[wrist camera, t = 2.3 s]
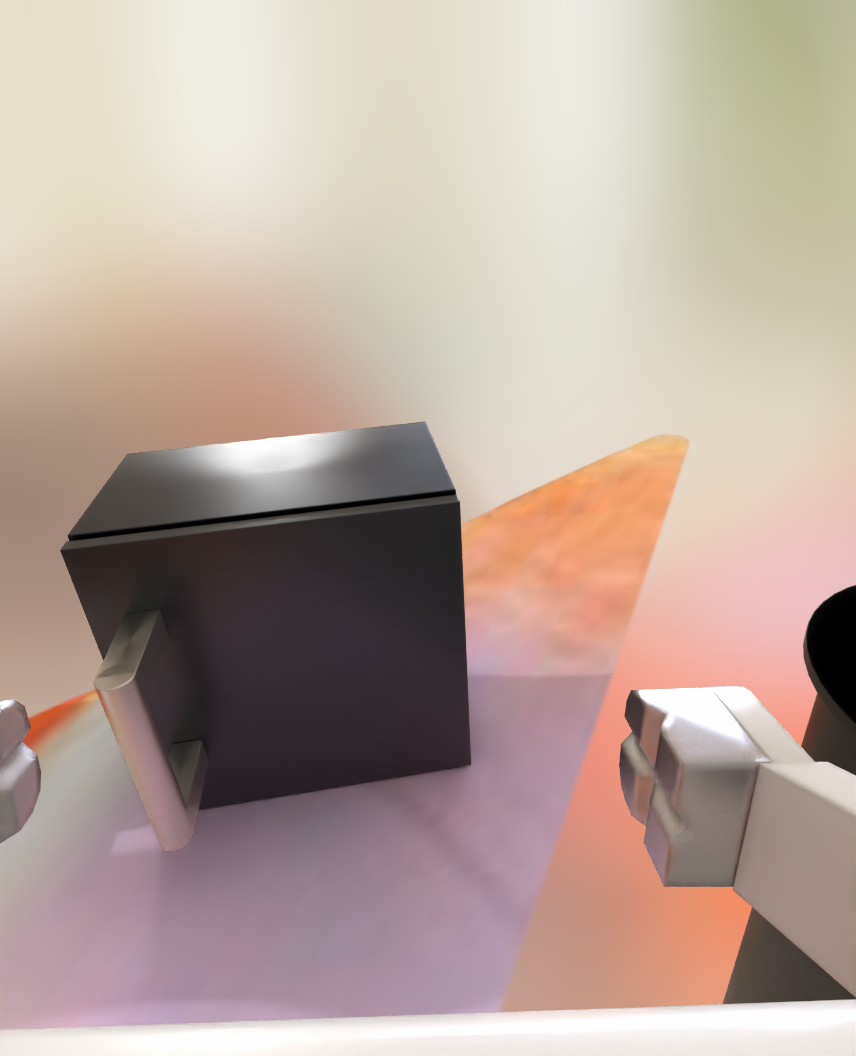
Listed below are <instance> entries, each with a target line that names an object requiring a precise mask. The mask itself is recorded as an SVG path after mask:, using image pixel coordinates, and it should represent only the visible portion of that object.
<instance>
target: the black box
mask: <svg viewBox="0 0 856 1056" xmlns="http://www.w3.org/2000/svg"><path fill="white" fill-rule="evenodd" d="M450 495H456V490H455V487H454V485H453V483H452V480H451V478H450V476H449V474H448V471H447V469H446V467H445V464H444V462H443V460H442V458H441V455H440V453H439V451H438V449H437V446H436V444H435V442H434V439H433V437H432V435H431V433H430V431H429V428H428V426H427V424H426V422H418V423H408V424H399V425H391V426H380V427H371V428H362V429H353V430H344V431H334V432H325V433H316V434H308V435H298V436H289V437H279V438H270V439H260V440H252V441H242V442H234V443H224V444H214V445H205V446H196V447H187V448H178V449H168V450H159V451H150V452H140V453H131V454H127V455H126V456H125V458H124V459H123V460H122V462H121V463H120V465H119V466H118V467H117V469H116V470H115V471H114V473H113V474H112V475H111V477H110V478H109V480H108V481H107V482H106V484H105V485H104V486H103V488H102V489H101V491H100V492H99V494H98V495H97V496H96V497H95V499H94V500H93V501H92V503H91V504H90V506H89V507H88V508H87V510H86V511H85V513H84V514H83V515H82V517H81V518H80V519H79V521H78V522H77V524H76V525H75V526H74V527H73V529H72V530H71V532H70V533H69V534H68V538H69V541H76V540H84V539H92V538H101V537H109V536H117V535H126V534H134V533H142V532H151V531H159V530H167V529H176V528H184V527H192V526H200V525H209V524H217V523H225V522H234V521H242V520H250V519H259V518H267V517H275V516H284V515H292V514H300V513H309V512H317V511H325V510H334V509H342V508H350V507H358V506H367V505H375V504H383V503H392V502H400V501H408V500H417V499H425V498H433V497H442V496H450Z"/></svg>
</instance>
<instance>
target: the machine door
mask: <svg viewBox="0 0 856 1056" xmlns="http://www.w3.org/2000/svg"><path fill="white" fill-rule="evenodd" d="M60 551H61V553H62V556H63V559H64V561H65V564H66V566H67V569H68V571H69V574H70V576H71V579H72V582H73V584H74V587H75V589H76V592H77V594H78V597H79V599H80V602H81V604H82V607H83V610H84V612H85V614H86V617H87V620H88V622H89V625H90V627H91V630H92V633H93V635H94V637H95V640H96V643H97V645H98V648H99V650H100V653H101V655H102V658H103V663H102V665H101V667H100V669H99V672H98V674H97V676H96V678H95V681H94V687H95V689H96V691H97V694H98V696H99V699H100V701H101V704H102V706H103V708H104V711H105V713H106V716H107V718H108V721H109V723H110V725H111V728H112V730H113V733H114V735H115V738H116V740H117V742H118V745H119V747H120V750H121V752H122V755H123V757H124V759H125V762H126V764H127V767H128V769H129V772H130V774H131V776H132V779H133V781H134V784H135V786H136V789H137V791H138V793H139V796H140V798H141V801H142V803H143V806H144V808H145V811H146V813H147V815H148V818H149V820H150V823H151V825H152V828H153V830H154V832H155V835H156V837H157V840H158V842H159V845H160V847H161V848H162V849H163V850H165V851H177V850H179V849H182V848H183V847H185V846H186V845H187V844H188V843H189V842H190V841H191V839H192V838H193V835H194V831H195V826H196V821H197V816H198V811H199V809H202V808H208V807H214V806H220V805H226V804H232V803H238V802H245V801H251V800H257V799H263V798H269V797H275V796H282V795H288V794H294V793H300V792H306V791H312V790H318V789H325V788H331V787H337V786H343V785H349V784H355V783H361V782H368V781H374V780H380V779H386V778H392V777H398V776H405V775H411V774H417V773H423V772H429V771H435V770H441V769H448V768H454V767H460V766H466V765H471V750H470V726H469V703H468V679H467V656H466V632H465V609H464V586H463V562H462V539H461V515H460V501H459V499H458V497H457V495H450V496H442V497H433V498H425V499H417V500H408V501H400V502H392V503H383V504H375V505H367V506H358V507H350V508H342V509H334V510H325V511H317V512H309V513H300V514H292V515H284V516H275V517H267V518H259V519H250V520H242V521H234V522H225V523H217V524H209V525H200V526H192V527H184V528H176V529H167V530H159V531H151V532H142V533H134V534H126V535H117V536H109V537H101V538H92V539H84V540H76V541H67V542H66V543H65V544H64V546H63V547H62V549H61V550H60Z"/></svg>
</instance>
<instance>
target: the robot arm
mask: <svg viewBox="0 0 856 1056" xmlns="http://www.w3.org/2000/svg"><path fill="white" fill-rule="evenodd" d="M625 718H626V720H627V722H628V724H629V726H630V727H631V729H632V731H633V732H632V733H631V734H630V735H629V736H628V737H627V738H626V739H625V740H624V741H623V743H622V744H621V752H620V763H619V767H620V777H621V786H622V790H623V794H624V797H625V801H626V803H627V806H628V808H629V810H630V813H631V815H632V816H633V817H634V818H636V819H637V820H638V821H640V822H641V823H642V824H644V825H645V826H646V831H645V838H644V844H645V846H646V848H647V851H648V853H649V855H650V857H651V859H652V862H653V864H654V866H655V868H656V870H657V872H658V875H659V877H660V879H661V881H662V883H663V886H664V887H665V886H667V887H668V886H669V887H670V886H671V887H672V886H673V887H675V886H676V887H684V886H685V887H699V886H700V887H706V886H707V887H733V891H735V892H736V893H737V894H738V895H739V896H740V897H741V898H743V899H744V900H745V901H746V902H747V903H748V904H749V905H751V906H752V907H753V908H754V909H755V910H756V911H757V912H759V913H760V914H761V915H762V916H763V917H764V918H765V919H767V920H768V921H769V922H770V923H771V924H772V925H773V926H775V927H776V928H777V929H778V930H779V931H780V932H781V933H783V934H784V935H785V936H786V937H787V938H788V939H789V940H791V941H792V942H793V943H794V944H795V945H796V946H797V947H799V948H800V949H801V950H802V951H803V952H804V953H806V954H807V955H808V956H809V957H810V958H811V959H812V960H814V961H815V962H816V963H817V964H818V965H819V966H820V967H822V968H823V969H824V970H825V971H826V972H827V973H828V974H830V975H831V976H832V977H833V978H834V979H835V980H836V981H838V982H839V983H840V984H841V985H842V986H843V987H844V988H846V989H847V990H848V991H849V992H850V993H851V994H852V995H854V996H855V997H856V776H855V775H853V774H851V773H849V772H847V771H845V770H843V769H841V768H839V767H837V766H835V765H833V764H831V763H829V762H815V761H814V760H813V759H812V758H811V757H810V756H809V755H808V754H807V753H806V752H805V750H804V749H803V748H802V747H801V746H800V745H799V744H798V743H797V742H796V741H795V740H794V739H793V737H792V736H791V735H790V734H789V733H788V732H787V731H786V730H785V729H784V727H783V726H782V725H781V724H780V723H779V722H778V721H777V720H776V719H775V718H774V716H773V715H772V714H771V713H770V712H769V711H768V710H767V709H766V708H765V707H764V705H763V704H762V703H761V702H760V701H759V700H758V699H757V698H756V697H755V696H754V695H753V693H752V692H751V691H750V690H749V689H747V688H745V687H742V686H740V685H735V686H716V687H704V688H684V689H683V688H682V689H657V690H656V689H655V690H631V692H630V694H629V696H628V699H627V703H626V710H625ZM30 728H31V727H30V723H29V720H28V716H27V713H26V710H25V706H23V705H22V704H20V703H19V702H17V701H15V700H0V843H1V842H3V841H4V840H6V839H8V838H9V837H11V836H12V835H14V834H15V833H17V832H19V831H20V830H21V829H22V827H23V826H24V824H25V823H26V821H27V820H28V818H29V817H30V816H31V814H32V813H33V810H34V807H35V804H36V801H37V798H38V795H39V792H40V782H41V770H40V765H39V761H38V756H37V755H36V754H35V753H34V752H33V751H32V750H31V749H30V748H29V747H27V746H26V745H25V744H24V743H23V742H22V741H23V739H24V738H25V736H26V734H27V733H28V731H29V729H30ZM0 1056H856V1000H830V1001H802V1002H775V1003H747V1004H720V1005H695V1006H694V1005H693V1006H666V1007H640V1008H639V1007H638V1008H608V1009H581V1010H580V1009H579V1010H552V1011H551V1010H550V1011H521V1012H491V1013H462V1014H433V1015H404V1016H375V1017H346V1018H318V1019H291V1020H263V1021H235V1022H207V1023H179V1024H151V1025H123V1026H95V1027H67V1028H39V1029H11V1030H0Z"/></svg>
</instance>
